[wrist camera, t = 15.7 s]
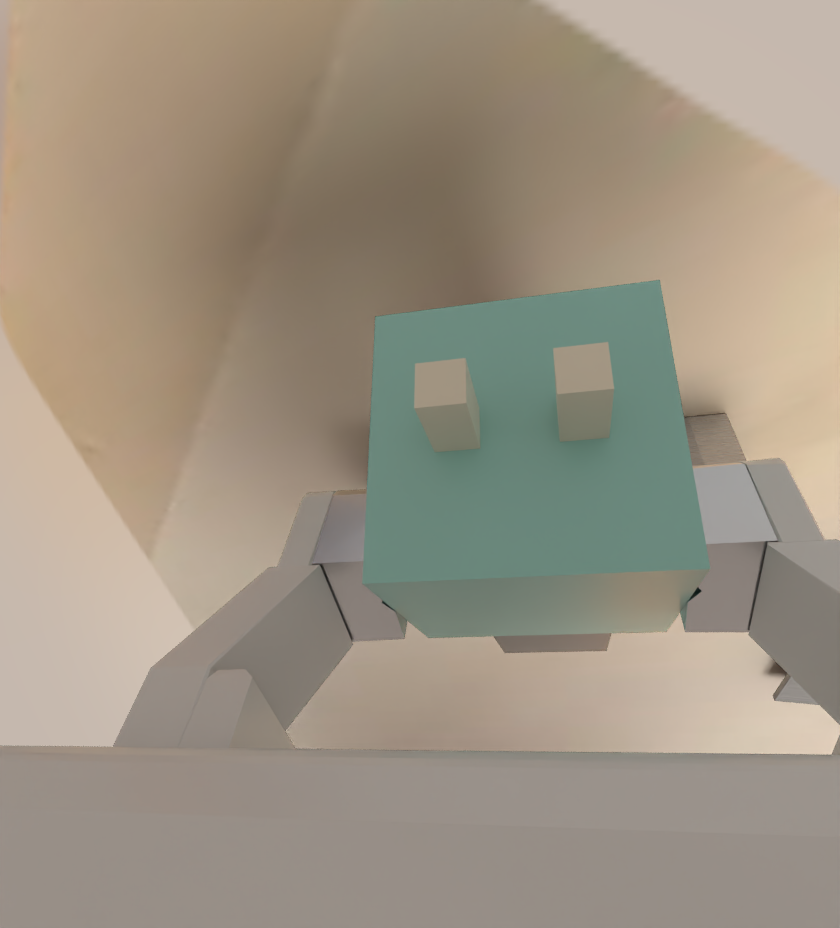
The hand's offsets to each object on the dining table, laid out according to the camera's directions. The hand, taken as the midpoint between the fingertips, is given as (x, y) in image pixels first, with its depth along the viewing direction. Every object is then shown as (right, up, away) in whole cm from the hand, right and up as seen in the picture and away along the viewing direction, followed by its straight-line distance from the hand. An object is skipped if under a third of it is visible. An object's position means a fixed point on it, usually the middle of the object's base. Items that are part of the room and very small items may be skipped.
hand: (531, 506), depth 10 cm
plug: (+1, +1, +4) cm, 4 cm away
